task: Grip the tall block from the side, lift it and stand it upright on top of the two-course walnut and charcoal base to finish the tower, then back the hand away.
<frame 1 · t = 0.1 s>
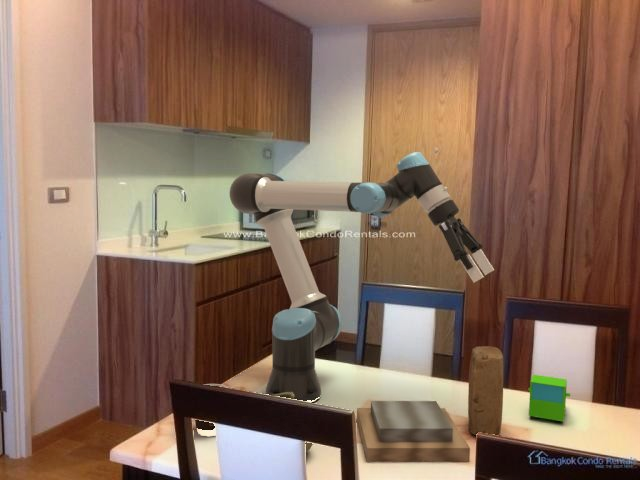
hand: (484, 276, 149), 36 cm above the table, tool tilted 35°, fingers open, 13 cm apart
block: (483, 430, 142), on the table
fruit: (291, 454, 129), on the table
tower base: (408, 438, 137), on the table
toy car: (547, 414, 153), on the table
coffee mug: (216, 430, 140), on the table
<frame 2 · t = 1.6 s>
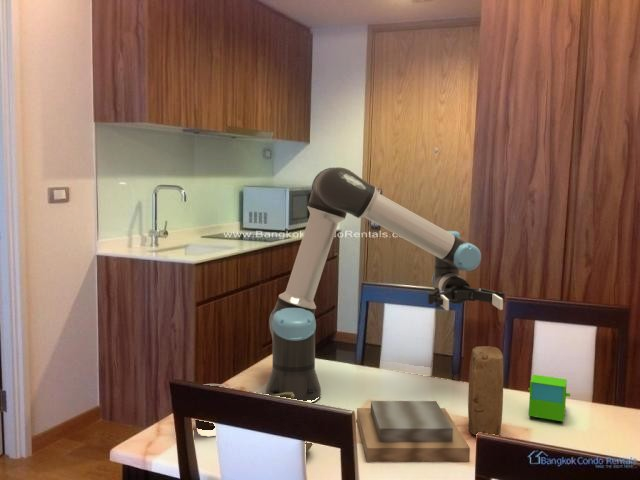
hand: (474, 304, 148), 29 cm above the table, tool horizontal, fingers open, 13 cm apart
nothing on the table moved.
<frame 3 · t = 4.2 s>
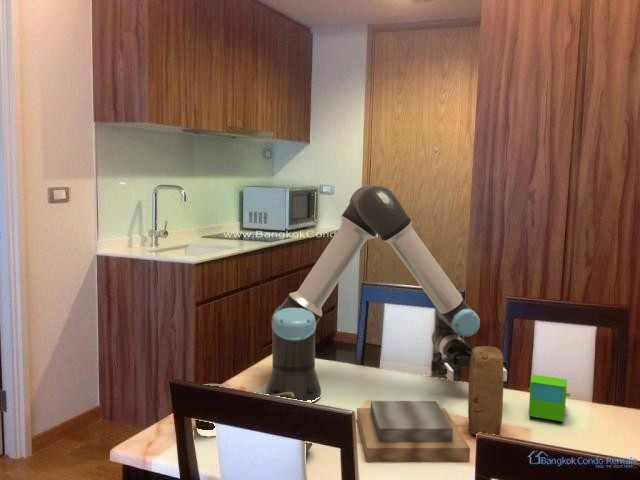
hand: (478, 376, 148), 11 cm above the table, tool horizontal, fingers open, 13 cm apart
nothing on the table moved.
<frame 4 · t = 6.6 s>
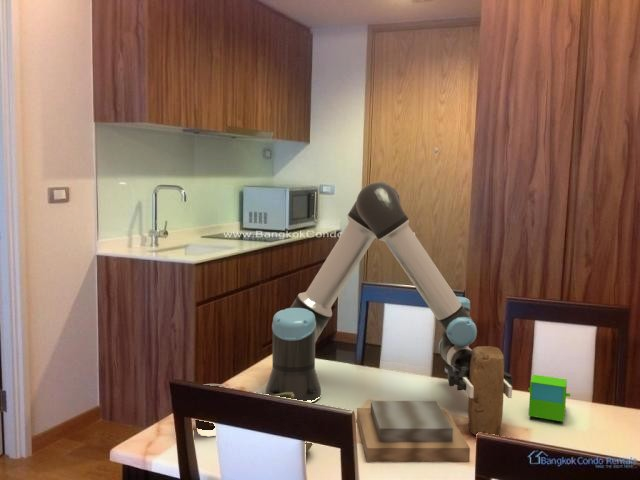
hand: (491, 392, 137), 11 cm above the table, tool horizontal, fingers closed on block, 8 cm apart
block: (483, 430, 142), on the table, touching gripper
everything else where it was.
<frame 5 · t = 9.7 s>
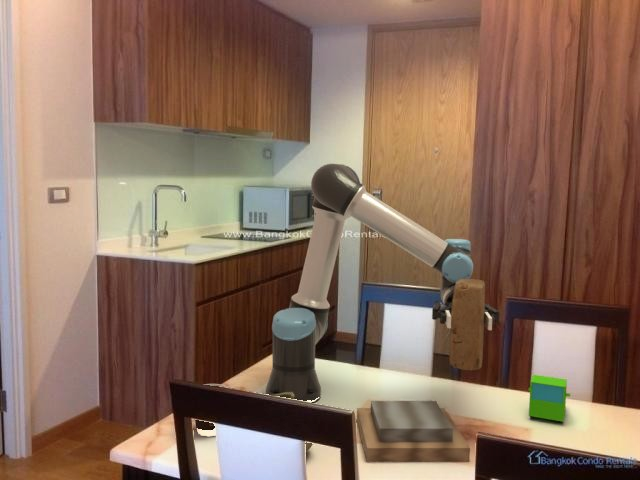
hand: (469, 323, 132), 28 cm above the table, tool horizontal, fingers closed on block, 8 cm apart
block: (465, 365, 138), point 17 cm above the table, touching gripper
everything else where it was.
when the fingers open (18 cm above the table, at t = 13.0 s): block drops 1 cm, resting on tower base.
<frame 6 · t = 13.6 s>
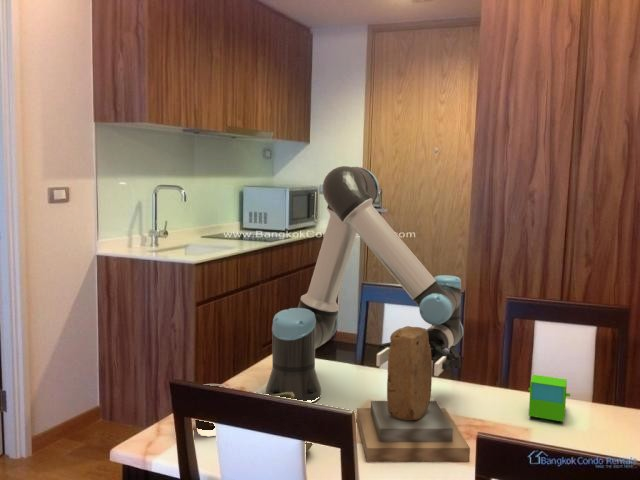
hand: (406, 365, 132), 18 cm above the table, tool horizontal, fingers open, 13 cm apart
block: (409, 414, 136), point 6 cm above the table, touching tower base
everything else where it was.
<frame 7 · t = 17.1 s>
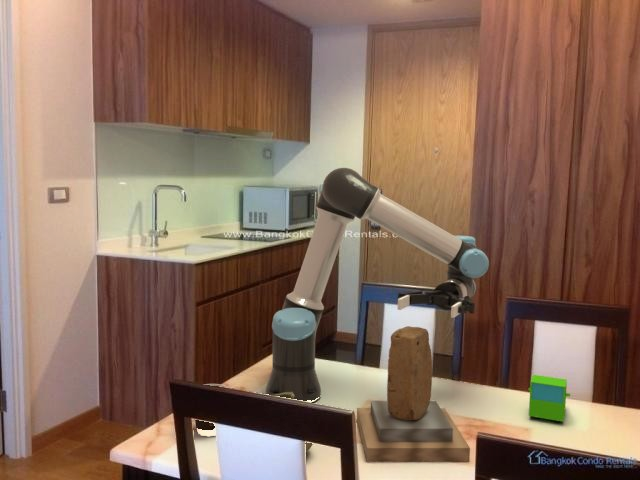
hand: (425, 308, 145), 28 cm above the table, tool horizontal, fingers open, 13 cm apart
nothing on the table moved.
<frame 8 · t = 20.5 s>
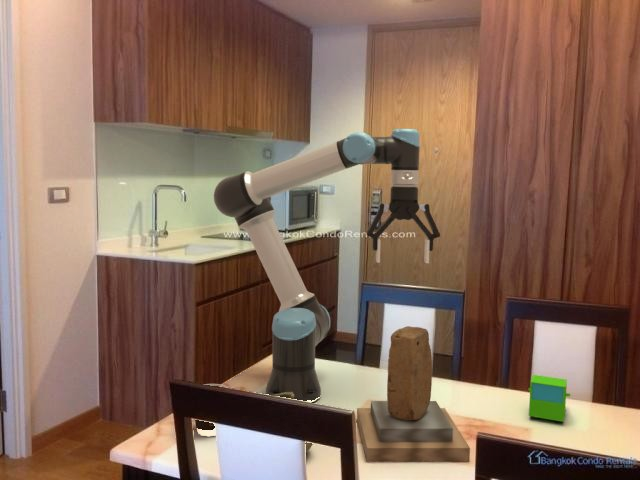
hand: (402, 262, 165), 37 cm above the table, tool pointing down, fingers open, 13 cm apart
nothing on the table moved.
at the end: block inside the target area on the tower base (0.1 cm from its centre), point 5.8 cm above the tower base's base; block tilted 0°; the gripper is holding nothing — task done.
